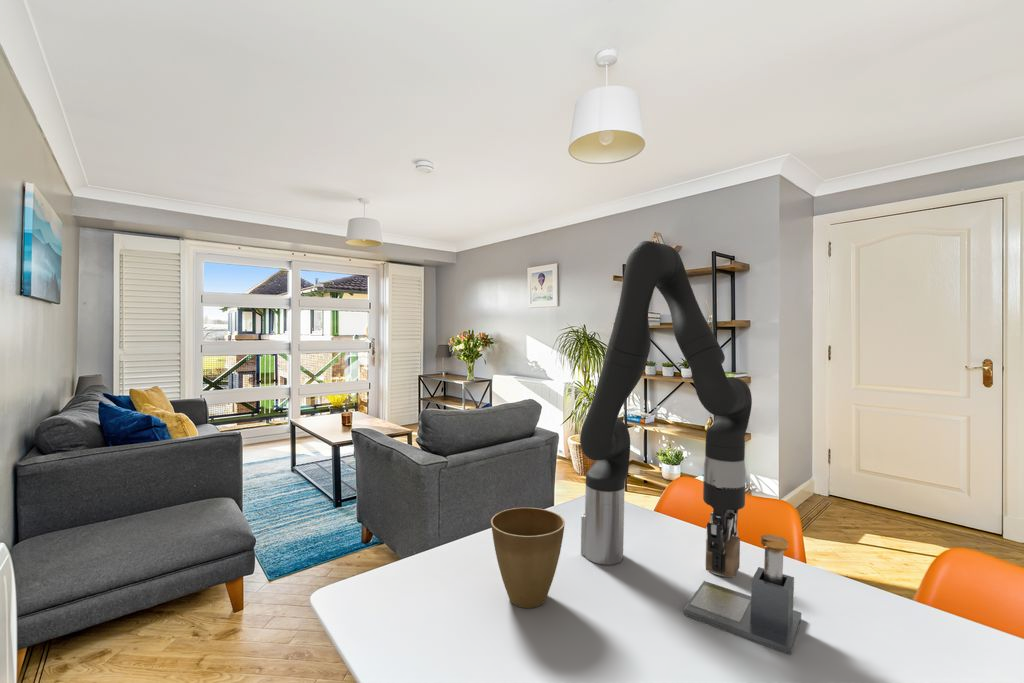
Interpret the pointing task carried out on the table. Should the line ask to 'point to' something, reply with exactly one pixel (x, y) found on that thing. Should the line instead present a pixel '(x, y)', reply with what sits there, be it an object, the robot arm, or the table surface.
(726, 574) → the block
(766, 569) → the plunger
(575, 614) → the table surface
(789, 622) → the grey assembly fixture
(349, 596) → the table surface
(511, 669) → the table surface
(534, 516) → the plant pot
